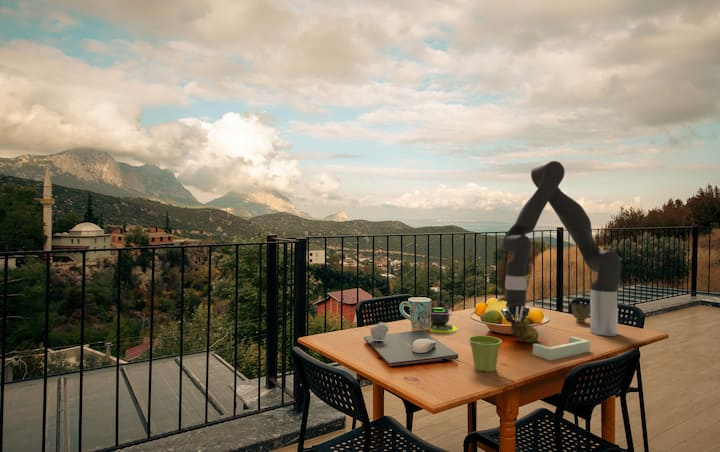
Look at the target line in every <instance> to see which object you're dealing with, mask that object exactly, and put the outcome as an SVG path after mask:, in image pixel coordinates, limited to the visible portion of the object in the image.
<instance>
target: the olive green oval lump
mask: <svg viewBox="0 0 720 452" xmlns="http://www.w3.org/2000/svg"><path fill="white" fill-rule="evenodd" d="M510 325H511V324H510ZM510 329H511V330H510V331H512V332H511V333H512V337H513V338H516V339H517V340H520V341H522V342H525V343H527V344H528V343H532V344H533V343H535V342H536V341H537V340H538V339H539V333H538V331H537V329H536V328H535V327H533V326H531V325H530V324H529V323H528V322H525V320H524V321H516V322H514V323H513V324H512V325H511V326H510Z"/></svg>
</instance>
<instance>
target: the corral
mask: <svg viewBox="0 0 720 452" xmlns="http://www.w3.org/2000/svg"><path fill="white" fill-rule="evenodd" d="M590 347H591V343H590V340H587V339H583V338H579V337H575V336H569V339H568V343H564V344H560V345H555V346H550V347H549V346H545V345H542V344H540V343H532V355H533V356H535V357H539V358H542V359H545V360H548V361H554V360H557V359H562V358H563V359H564V358H567V357H570V356H575V355H576V356H577V355H580V354H583V353H584V354H585V353H588V352H589V353H590Z"/></svg>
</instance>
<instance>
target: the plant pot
mask: <svg viewBox="0 0 720 452" xmlns="http://www.w3.org/2000/svg"><path fill="white" fill-rule="evenodd" d="M468 341H469V343H470V346H471V351H472V352H471V353H472V360H473V368H474V369H475V370H477V371H479V372H486V373H491V372H492V373H493V372H495V371H496V369H497V364H498V357H499V349H500V347H501V344H502V342H503V341H502V339H500V338H498V337H495V336H490V335H473V336H469V337H468Z"/></svg>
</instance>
